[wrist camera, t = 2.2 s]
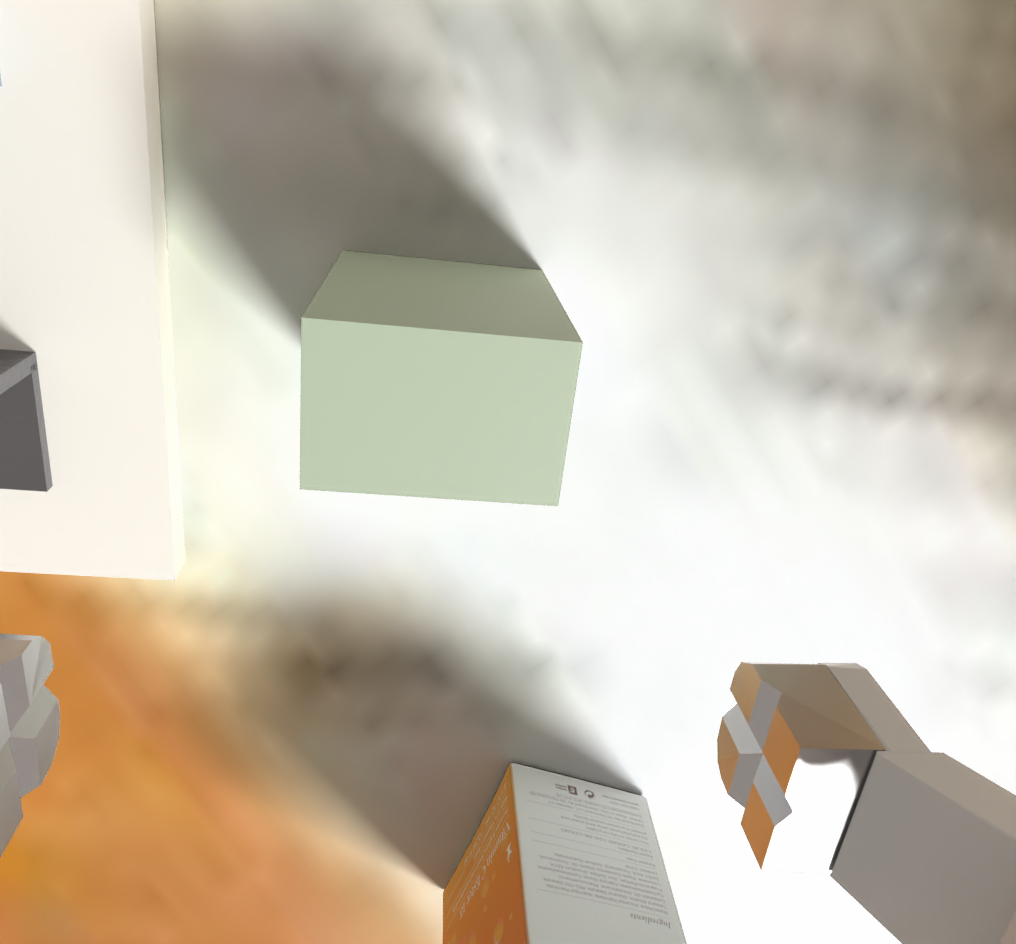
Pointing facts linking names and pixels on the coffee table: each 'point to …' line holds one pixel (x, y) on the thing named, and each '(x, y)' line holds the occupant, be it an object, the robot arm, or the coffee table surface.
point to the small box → (561, 868)
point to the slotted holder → (85, 296)
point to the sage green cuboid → (436, 381)
